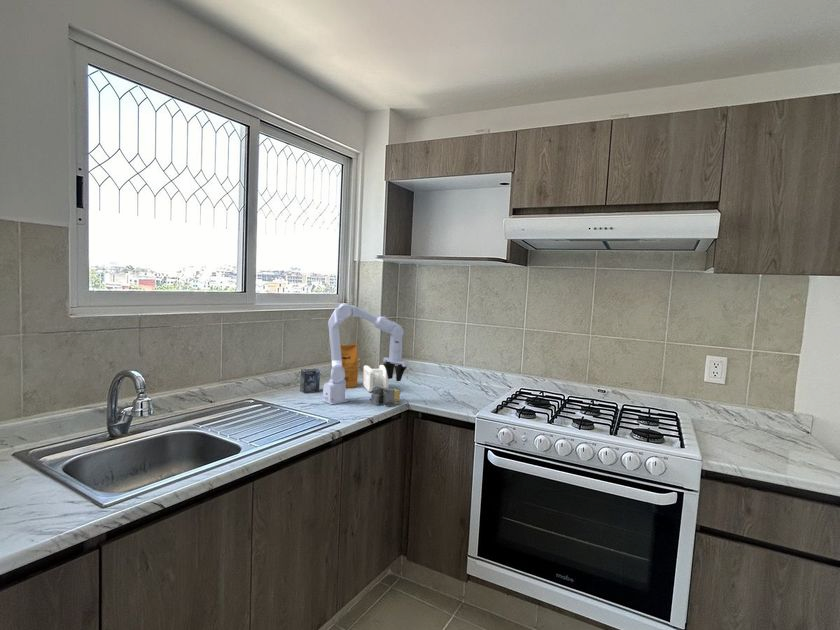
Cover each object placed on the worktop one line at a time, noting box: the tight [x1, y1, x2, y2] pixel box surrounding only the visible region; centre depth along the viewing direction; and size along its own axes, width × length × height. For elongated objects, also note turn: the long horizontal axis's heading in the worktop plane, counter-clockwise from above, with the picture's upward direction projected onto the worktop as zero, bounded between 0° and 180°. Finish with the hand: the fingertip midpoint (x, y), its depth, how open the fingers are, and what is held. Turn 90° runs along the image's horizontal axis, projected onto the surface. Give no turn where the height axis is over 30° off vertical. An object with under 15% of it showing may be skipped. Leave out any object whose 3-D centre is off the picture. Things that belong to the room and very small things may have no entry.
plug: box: [370, 388, 401, 406], centre depth 203 cm, size 14×4×5 cm, turn 134°
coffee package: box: [340, 343, 359, 389], centre depth 230 cm, size 10×12×22 cm
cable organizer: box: [362, 364, 390, 393], centre depth 226 cm, size 15×11×12 cm
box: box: [299, 368, 321, 394], centre depth 216 cm, size 8×6×11 cm
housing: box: [369, 386, 398, 408], centre depth 202 cm, size 5×14×6 cm, turn 44°
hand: (394, 379), depth 206 cm, fingers open, 5 cm apart
